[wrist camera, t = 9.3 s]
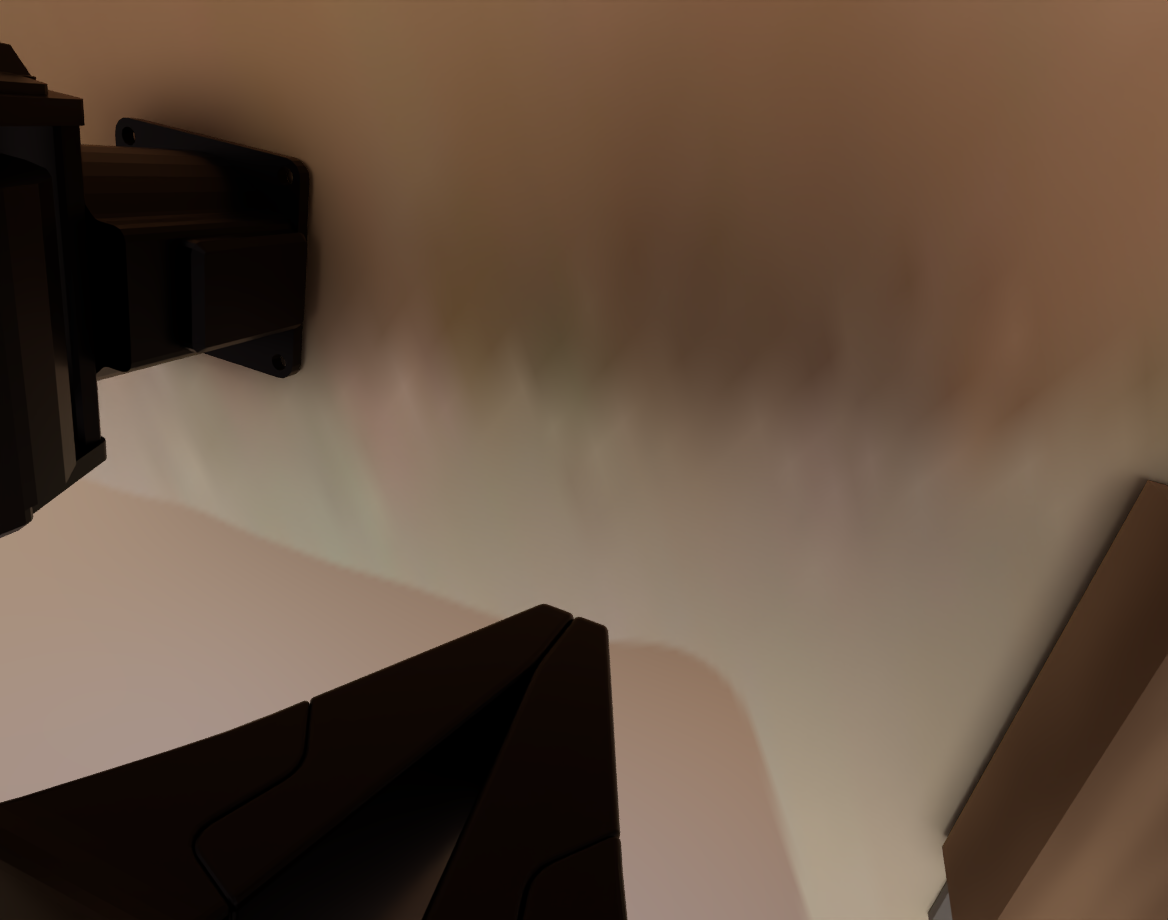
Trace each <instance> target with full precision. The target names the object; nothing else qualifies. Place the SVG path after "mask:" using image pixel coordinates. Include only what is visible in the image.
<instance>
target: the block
mask: <svg viewBox="0 0 1168 920" xmlns="http://www.w3.org/2000/svg"><path fill="white" fill-rule="evenodd" d="M942 850H943V857H944V864H945V871H946V878H947V885H948V892H949V899H950V906H951V913H952V920H1168V486H1167V485H1164V484H1160V483H1157V482H1153V481H1149V480H1148V481H1147V483H1146V484H1145V486H1144V488H1143V490H1142V492H1141V493H1140V495H1139V497H1138V499H1137V500H1136V502H1135V504H1134V506H1133V508H1132V509H1131V511H1130V513H1129V515H1128V517H1127V518H1126V520H1125V522H1124V524H1123V525H1122V527H1121V529H1120V531H1119V533H1118V534H1117V536H1116V538H1115V540H1114V541H1113V543H1112V545H1111V547H1110V549H1109V550H1108V552H1107V554H1106V556H1105V557H1104V559H1103V561H1102V563H1101V565H1100V566H1099V568H1098V570H1097V572H1096V574H1095V575H1094V577H1093V579H1092V581H1091V582H1090V584H1089V586H1088V588H1087V590H1086V591H1085V593H1084V595H1083V597H1082V598H1081V600H1080V602H1079V604H1078V606H1077V607H1076V609H1075V611H1074V613H1073V615H1072V616H1071V618H1070V620H1069V622H1068V623H1067V625H1066V627H1065V629H1064V631H1063V632H1062V634H1061V636H1060V638H1059V639H1058V641H1057V643H1056V645H1055V647H1054V648H1053V650H1052V652H1051V654H1050V655H1049V657H1048V659H1047V661H1046V663H1045V664H1044V666H1043V668H1042V670H1041V672H1040V673H1039V675H1038V677H1037V679H1036V680H1035V682H1034V684H1033V686H1032V688H1031V689H1030V691H1029V693H1028V695H1027V696H1026V698H1025V700H1024V702H1023V704H1022V705H1021V707H1020V709H1019V711H1018V712H1017V714H1016V716H1015V718H1014V720H1013V721H1012V723H1011V725H1010V727H1009V729H1008V730H1007V732H1006V734H1005V736H1004V737H1003V739H1002V741H1001V743H1000V745H999V746H998V748H997V750H996V752H995V753H994V755H993V757H992V759H991V761H990V762H989V764H988V766H987V768H986V770H985V771H984V773H983V775H982V777H981V778H980V780H979V782H978V784H977V786H976V787H975V789H974V791H973V793H972V794H971V796H970V798H969V800H968V802H967V803H966V805H965V807H964V809H963V810H962V812H961V814H960V816H959V818H958V819H957V821H956V823H955V825H954V827H953V828H952V830H951V832H950V834H949V835H948V837H947V839H946V841H945V843H944V844H943V846H942Z"/></svg>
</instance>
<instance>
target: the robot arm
mask: <svg viewBox="0 0 1168 920" xmlns="http://www.w3.org/2000/svg"><path fill="white" fill-rule="evenodd" d="M83 125H84V110H83V99H82V98H78V97H74V96H70V95H66V94H62V93H58V92H54V91H50V90H48V87H47V84H46V83H43V82H40V81H37V80H36V77H35V76H31V75H30V73H29V72H28V71H27V69H26V68H25V66H24V65H23V63H22V62H21V60H20V59H19V57H18V56H17V54H16V53H15V51H14V50H13V48H12V47H11V45H9V44H5V43H0V538H1V537H4V536H6V535H9V534H11V533H13V532H16V531H18V530H20V529H21V528H23V527H24V526H25V525H27V524H28V523H29V522H31V521H32V519H33V513H35V512H36V511H37V510H39V509H40V508H42V507H43V506H44V505H46V504H47V503H48V502H50V501H51V500H52V499H54V498H55V497H56V496H58V495H59V494H60V493H62V492H63V491H64V490H66V489H67V488H69V487H70V486H71V485H72V484H74V483H75V482H77V481H78V480H79V479H81V478H82V477H83V476H85V475H86V474H87V473H89V472H90V471H91V470H93V469H94V468H95V467H97V466H98V465H99V464H101V463H102V462H103V461H105V460H106V458H107V455H106V440H105V438H104V437H102V436H101V431H100V417H99V402H98V388H97V381H98V380H102V379H106V378H110V377H113V376H117V375H121V374H125V373H129V372H132V371H136V370H140V369H144V368H148V367H151V366H155V365H159V364H163V363H167V362H170V361H174V360H178V359H182V358H186V357H189V356H193V355H197V354H201V353H205V354H208V355H211V356H214V357H217V358H220V359H223V360H226V361H229V362H232V363H235V364H238V365H242V366H245V367H248V368H251V369H254V370H257V371H260V372H263V373H266V374H269V375H272V376H275V377H278V378H285V377H288V376H291V375H294V374H296V373H297V372H298V371H299V370H300V366H301V350H302V329H303V321H304V302H305V280H306V259H307V222H308V200H309V173H308V170H307V168H306V166H305V165H304V164H303V163H302V162H301V161H300V160H298V159H296V158H293V157H289V156H285V155H281V154H277V153H273V152H269V151H265V150H261V149H257V148H253V147H249V146H246V145H242V144H238V143H234V142H230V141H226V140H222V139H218V138H214V137H210V136H206V135H202V134H198V133H194V132H190V131H186V130H182V129H178V128H174V127H170V126H166V125H162V124H158V123H154V122H150V121H146V120H142V119H136V118H122V119H120V120H119V121H118V123H117V125H116V130H115V137H116V146H101V145H81V142H80V128H79V126H83ZM133 133H135V137H136V139H135V140H134V136H133ZM289 169H290V171H291V172H292V176H293V180H292V183H291V184H290V182H289V181H288V178H287V172H288V170H289ZM281 356H282V357H283V358H284V360H285V363H286V366H284V365H283V364H282V362H281V358H280V357H281ZM619 837H620V825H619V808H618V792H617V774H616V757H615V740H614V723H613V706H612V690H611V673H610V655H609V638H608V630H607V628H606V627H605V626H604V625H601V624H598V623H596V622H593V621H590V620H588V619H585V618H582V617H576V618H575V619H574V618H573V615H572V614H571V613H569V612H566V611H564V610H561V609H558V608H556V607H553V606H550V605H548V604H541V605H538V606H535V607H533V608H530V609H528V610H525V611H523V612H521V613H518V614H516V615H513V616H511V617H508V618H506V619H504V620H501V621H499V622H496V623H494V624H491V625H489V626H487V627H484V628H482V629H479V630H477V631H474V632H472V633H469V634H467V635H464V636H462V637H460V638H457V639H455V640H453V641H450V642H448V643H445V644H443V645H440V646H438V647H435V648H433V649H430V650H428V651H425V652H423V653H421V654H418V655H416V656H413V657H411V658H408V659H406V660H403V661H401V662H398V663H396V664H394V665H391V666H389V667H386V668H384V669H381V670H379V671H377V672H374V673H372V674H369V675H367V676H365V677H362V678H359V679H357V680H355V681H352V682H350V683H347V684H345V685H343V686H340V687H337V688H335V689H333V690H330V691H328V692H325V693H323V694H320V695H318V696H316V697H313V698H312V699H311V700H310V704H309V702H308V701H303V702H300V703H298V704H295V705H293V706H291V707H288V708H286V709H283V710H281V711H278V712H276V713H273V714H271V715H268V716H266V717H263V718H260V719H257V720H255V721H252V722H250V723H247V724H244V725H242V726H239V727H237V728H234V729H232V730H229V731H226V732H223V733H220V734H217V735H214V736H211V737H208V738H205V739H203V740H199V741H196V742H193V743H190V744H187V745H185V746H182V747H178V748H175V749H172V750H170V751H166V752H163V753H160V754H157V755H154V756H151V757H147V758H144V759H141V760H138V761H134V762H132V763H128V764H125V765H122V766H118V767H115V768H112V769H109V770H106V771H102V772H100V773H96V774H93V775H90V776H87V777H83V778H80V779H77V780H74V781H70V782H68V783H64V784H61V785H58V786H55V787H51V788H48V789H45V790H42V791H39V792H35V793H32V794H29V795H26V796H23V797H19V798H15V799H12V800H8V801H4V802H1V803H0V920H627V911H626V901H625V890H624V880H623V868H622V852H621V841H620V839H619Z"/></svg>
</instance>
